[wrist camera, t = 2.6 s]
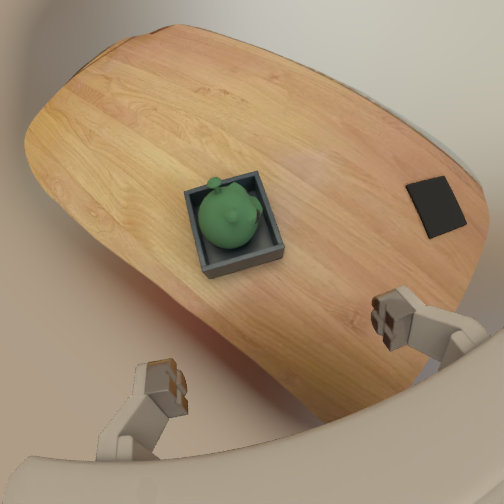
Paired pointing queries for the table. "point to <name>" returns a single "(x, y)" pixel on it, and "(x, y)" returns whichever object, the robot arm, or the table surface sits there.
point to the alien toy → (228, 215)
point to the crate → (251, 253)
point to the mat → (436, 206)
